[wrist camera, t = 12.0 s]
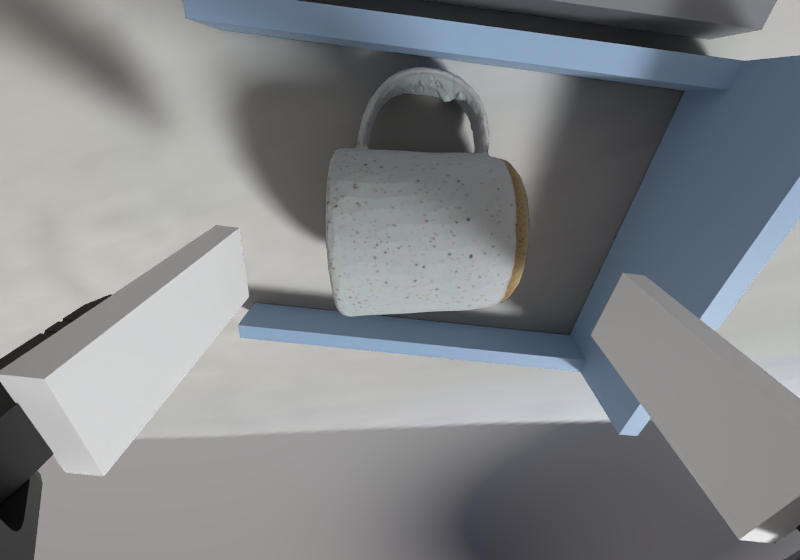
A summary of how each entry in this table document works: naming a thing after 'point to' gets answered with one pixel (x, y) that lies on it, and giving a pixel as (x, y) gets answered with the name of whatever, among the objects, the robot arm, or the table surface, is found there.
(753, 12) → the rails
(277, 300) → the table surface
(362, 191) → the ceramic mug
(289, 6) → the frame
